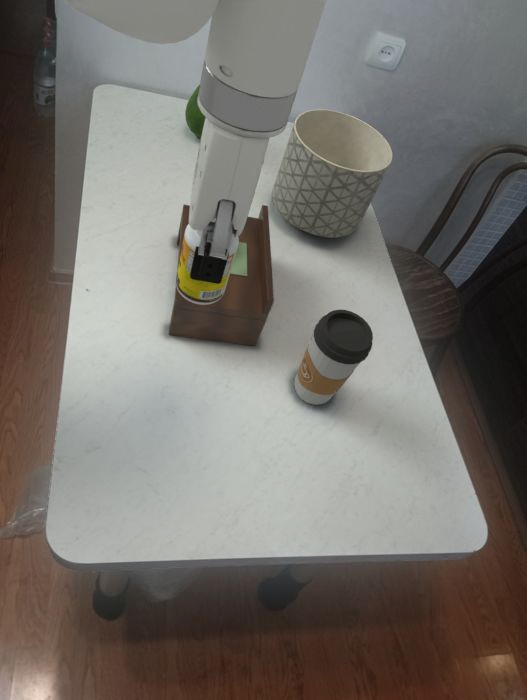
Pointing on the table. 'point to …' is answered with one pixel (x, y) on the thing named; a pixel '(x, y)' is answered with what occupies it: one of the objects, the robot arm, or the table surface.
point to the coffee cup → (332, 355)
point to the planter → (330, 172)
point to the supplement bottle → (194, 288)
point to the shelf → (232, 291)
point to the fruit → (194, 115)
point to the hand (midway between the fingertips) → (207, 256)
